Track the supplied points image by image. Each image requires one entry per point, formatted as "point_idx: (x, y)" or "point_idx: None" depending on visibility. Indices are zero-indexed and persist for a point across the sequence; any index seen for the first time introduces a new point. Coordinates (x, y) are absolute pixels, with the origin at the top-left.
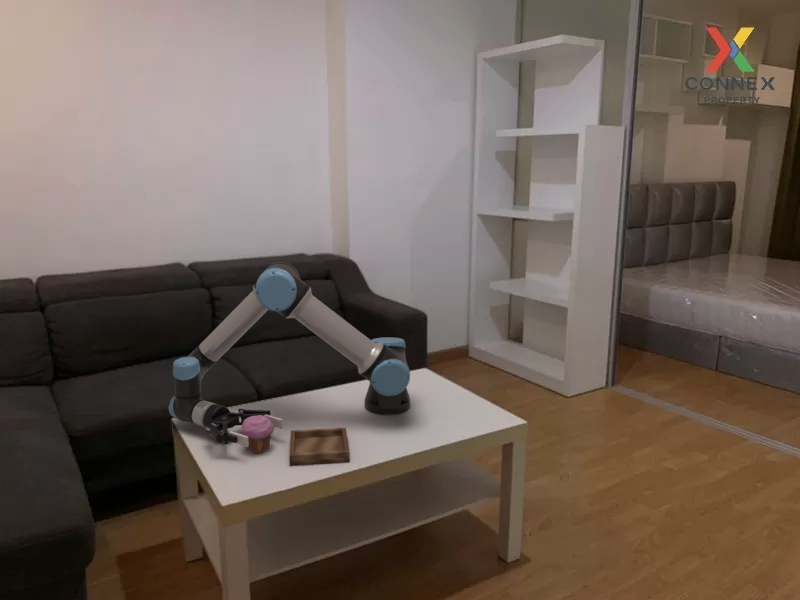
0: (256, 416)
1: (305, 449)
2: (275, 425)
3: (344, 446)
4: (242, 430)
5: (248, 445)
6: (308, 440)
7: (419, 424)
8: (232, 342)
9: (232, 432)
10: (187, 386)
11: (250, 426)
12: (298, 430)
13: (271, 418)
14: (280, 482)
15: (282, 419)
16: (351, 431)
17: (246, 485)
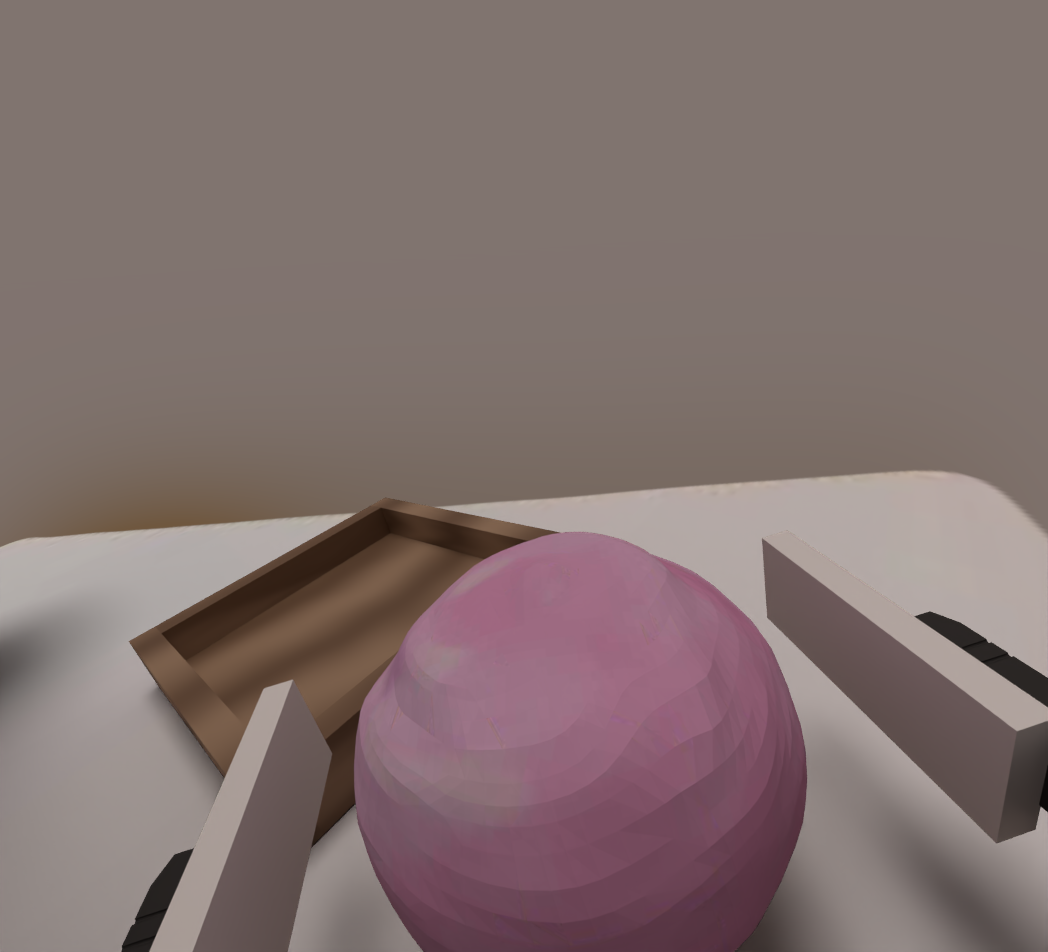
0: (514, 618)
1: None
2: (306, 815)
3: (350, 524)
4: (790, 702)
5: (769, 612)
6: None
7: None
8: None
9: (976, 676)
10: None
11: (685, 578)
12: (229, 764)
13: (248, 829)
14: (683, 512)
15: (267, 688)
16: (68, 724)
17: (849, 531)
